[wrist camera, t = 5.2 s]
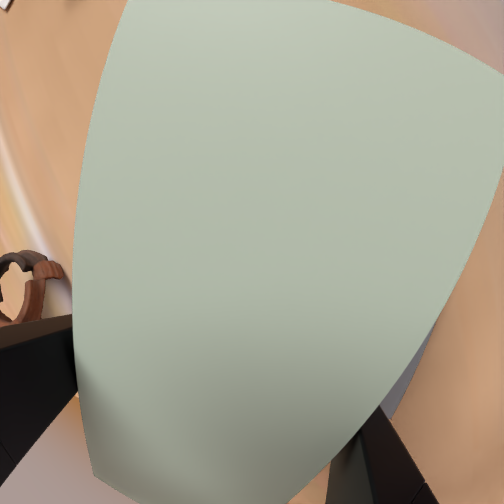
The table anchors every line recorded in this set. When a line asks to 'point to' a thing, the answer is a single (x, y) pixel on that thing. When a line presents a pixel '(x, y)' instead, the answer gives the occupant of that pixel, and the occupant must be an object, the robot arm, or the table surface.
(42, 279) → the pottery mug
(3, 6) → the dessert
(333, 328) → the shelf board
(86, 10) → the table surface
